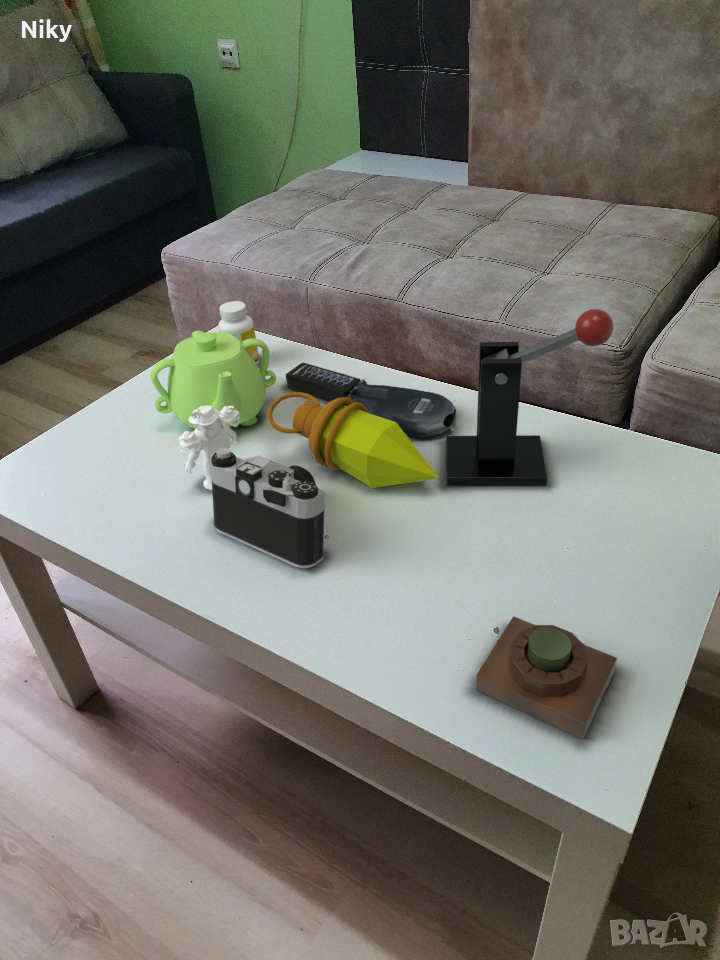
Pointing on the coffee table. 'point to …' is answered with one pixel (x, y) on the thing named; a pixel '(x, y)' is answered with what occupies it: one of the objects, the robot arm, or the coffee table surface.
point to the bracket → (496, 431)
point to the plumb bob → (356, 441)
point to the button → (549, 649)
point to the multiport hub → (320, 382)
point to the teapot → (214, 377)
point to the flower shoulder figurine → (208, 436)
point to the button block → (546, 679)
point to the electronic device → (407, 408)
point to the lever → (568, 336)
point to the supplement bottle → (238, 324)
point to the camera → (269, 507)
